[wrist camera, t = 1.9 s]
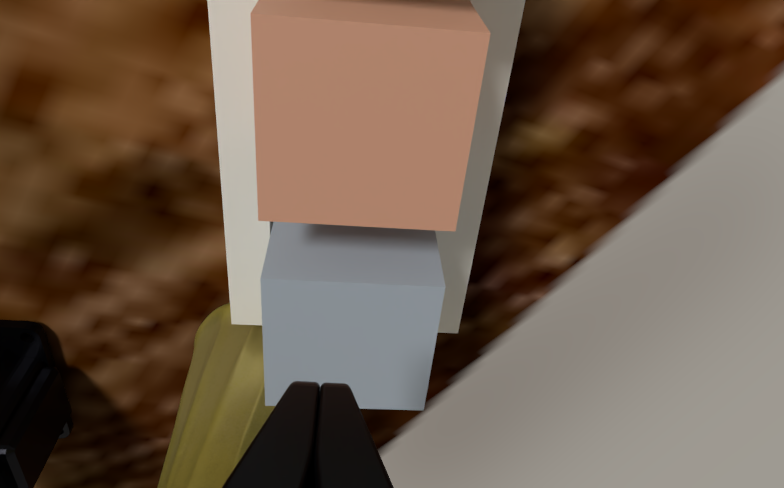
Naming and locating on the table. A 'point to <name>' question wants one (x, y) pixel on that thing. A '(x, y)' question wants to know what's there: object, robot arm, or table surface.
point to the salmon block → (365, 110)
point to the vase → (217, 404)
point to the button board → (238, 155)
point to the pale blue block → (351, 311)
